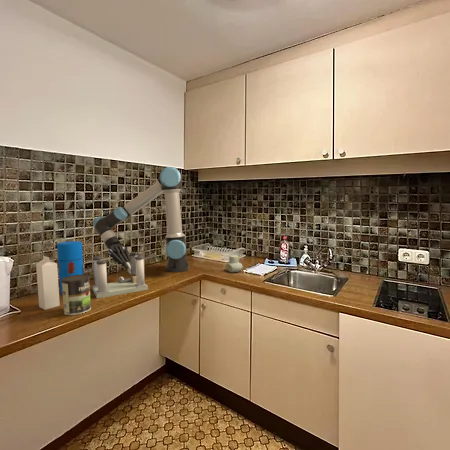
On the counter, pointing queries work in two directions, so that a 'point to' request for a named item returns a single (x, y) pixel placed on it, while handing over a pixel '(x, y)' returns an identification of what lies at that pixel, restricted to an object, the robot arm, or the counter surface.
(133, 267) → the folding leg
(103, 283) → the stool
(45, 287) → the milk
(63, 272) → the thermos
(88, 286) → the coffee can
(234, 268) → the pipe tee fitting
